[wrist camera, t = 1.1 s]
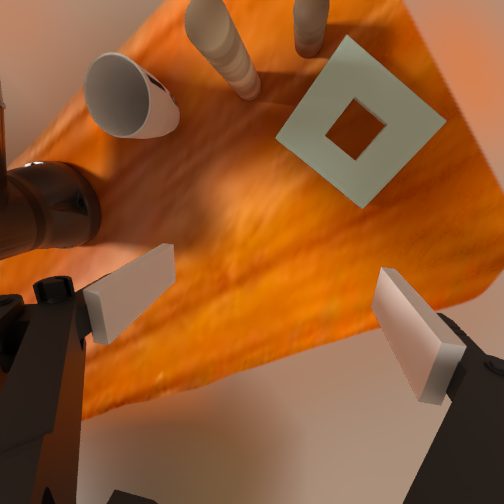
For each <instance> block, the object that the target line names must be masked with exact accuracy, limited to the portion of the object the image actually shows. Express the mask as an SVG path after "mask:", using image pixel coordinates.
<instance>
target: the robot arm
mask: <svg viewBox="0 0 504 504" xmlns="http://www.w3.org/2000/svg"><path fill="white" fill-rule="evenodd" d="M4 109H6V106H5V104H4V103H3V99H2V91H1V82H0V260H3V259H6V258H9V257H12V256H15V255H18V254H22V253H25V252H28V251H31V250H34V249H48V248H61V249H66V248H73V247H77V246H79V245H82V244H85V243H87V242H89V241H90V240H91V239H92V238H93V237H94V236H95V235H96V233H97V231H98V229H99V226H100V219H101V214H100V207H99V203H98V199H97V197H96V194H95V192H94V190H93V189H92V187H91V185H90V184H89V183H88V181H87V180H86V179H85V178H84V177H83V176H82V175H81V174H80V173H79V172H78V171H77V170H75V169H74V168H72V167H71V166H69V165H67V164H64V163H61V162H57V161H35V162H31V163H28V164H26V165H24V166H23V167H20V168H15V169H12V170H9V171H7V170H6V152H5V125H4ZM175 281H176V276H175V261H174V245H173V244H166V243H162V244H161V245H159V246H157V247H155V248H154V249H152V250H150V251H148V252H147V253H145V254H143V255H142V256H140V257H138V258H136V259H135V260H133V261H131V262H130V263H128V264H126V265H124V266H123V267H121V268H119V269H117V270H116V271H114V272H112V273H110V274H107V275H105V276H103V277H101V278H99V280H96V281H94V282H92V284H89V285H87V286H86V287H84V288H82V289H80V290H79V291H77V292H75V291H74V287H73V282H72V279H71V277H69V276H54V277H49V278H45V279H42V280H40V281H38V282H36V283H35V284H34V285H33V288H34V292H35V295H36V299H37V302H38V303H37V304H24V301H23V298H22V296H21V295H18V294H9V295H0V504H76V491H77V476H78V461H79V446H80V431H81V416H82V401H83V386H84V371H85V356H86V340H85V336H87V335H88V334H89V333H90V332H92V336H93V340H94V342H95V343H100V344H106V345H109V344H110V343H111V342H112V341H113V340H114V339H116V338H117V337H118V336H119V335H120V334H121V333H122V332H123V331H124V330H125V329H126V328H127V327H128V326H129V325H130V324H131V323H132V322H133V321H134V320H136V319H137V318H138V317H139V316H140V315H141V314H142V313H143V312H144V311H145V310H146V309H147V308H148V307H149V306H150V305H151V304H152V303H153V302H154V301H155V300H157V299H158V298H159V297H160V296H161V295H162V294H163V293H164V292H165V291H166V290H167V289H168V288H169V287H170V286H171V285H172V284H173V283H174V282H175ZM371 308H372V310H373V312H374V314H375V316H376V318H377V320H378V322H379V324H380V326H381V328H382V330H383V332H384V333H385V336H386V338H387V340H388V341H389V344H390V346H391V348H392V349H393V352H394V354H395V355H396V358H397V359H398V361H399V363H400V365H401V367H402V369H403V371H404V373H405V375H406V377H407V379H408V381H409V383H410V385H411V387H412V389H413V391H414V393H415V395H416V397H417V399H418V401H419V402H424V403H430V404H435V405H441V404H442V402H443V400H444V397H445V395H446V393H447V395H448V396H449V398H450V399H451V401H452V403H451V405H450V407H449V409H448V412H447V414H446V416H445V418H444V420H443V422H442V424H441V426H440V428H439V430H438V432H437V434H436V436H435V438H434V440H433V443H432V444H431V446H430V449H429V451H428V453H427V455H426V457H425V459H424V461H423V463H422V465H421V467H420V469H419V471H418V473H417V475H416V477H415V479H414V481H413V483H412V485H411V487H410V489H409V492H408V493H407V496H406V498H405V500H404V502H403V504H504V360H502V359H499V358H497V357H494V356H491V355H486V354H485V353H484V352H483V351H482V350H481V349H480V348H479V347H478V346H477V345H476V344H475V343H474V342H473V340H471V339H470V337H469V336H467V335H466V333H465V332H464V331H462V330H460V327H458V325H457V324H456V323H455V322H453V320H451V319H449V318H448V317H446V316H445V315H443V314H442V313H436V312H435V311H434V310H433V309H432V308H431V307H430V306H429V305H428V304H427V303H426V302H425V301H424V299H423V298H422V297H421V296H420V295H419V294H418V293H417V292H416V291H415V290H414V289H413V288H412V286H411V285H410V284H409V283H408V282H407V281H406V280H405V279H404V278H403V277H402V276H401V275H400V273H399V272H398V271H397V270H396V269H395V268H386V267H381V269H380V273H379V277H378V281H377V285H376V289H375V293H374V297H373V301H372V305H371ZM107 504H157V503H156V502H155V501H154V500H151V499H147V498H144V497H140V496H137V495H133V494H129V493H126V492H122V491H119V490H114V492H113V494H112V496H111V497H110V499H109V501H108V502H107Z"/></svg>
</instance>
